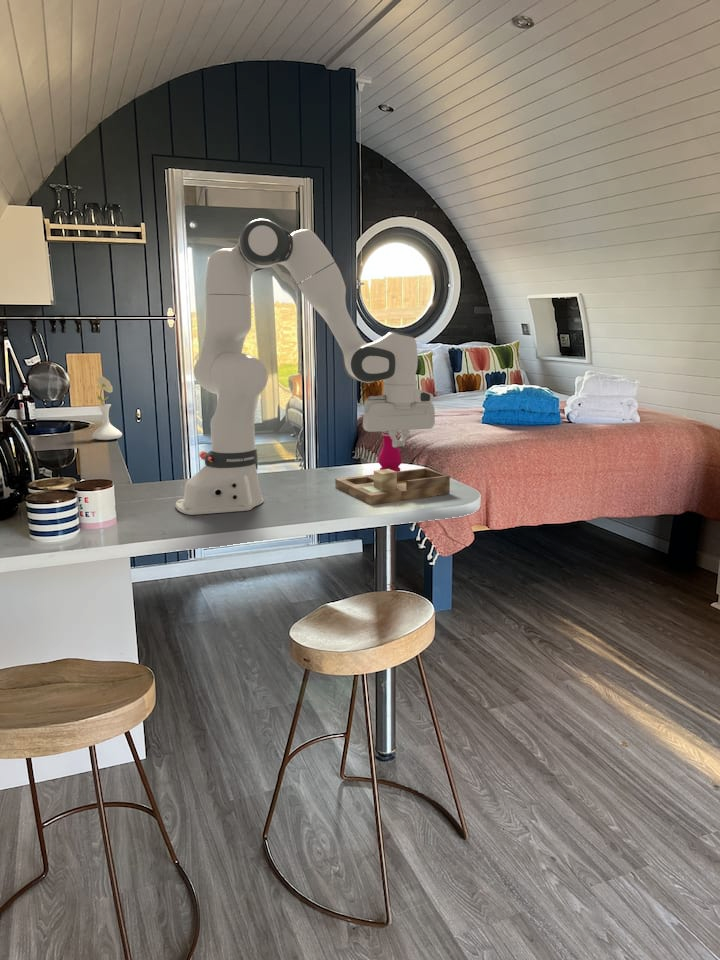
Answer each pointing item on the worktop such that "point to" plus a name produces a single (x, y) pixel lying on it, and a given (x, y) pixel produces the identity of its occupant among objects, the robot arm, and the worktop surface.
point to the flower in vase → (105, 415)
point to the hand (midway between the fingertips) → (398, 446)
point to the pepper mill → (389, 454)
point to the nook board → (408, 486)
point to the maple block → (385, 479)
